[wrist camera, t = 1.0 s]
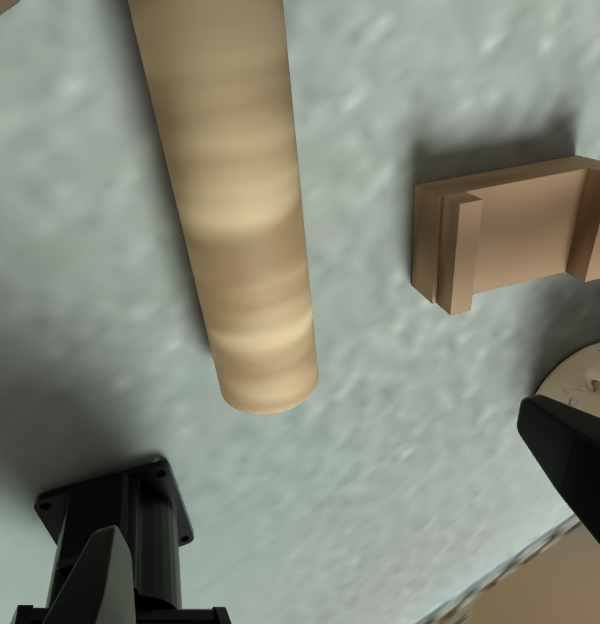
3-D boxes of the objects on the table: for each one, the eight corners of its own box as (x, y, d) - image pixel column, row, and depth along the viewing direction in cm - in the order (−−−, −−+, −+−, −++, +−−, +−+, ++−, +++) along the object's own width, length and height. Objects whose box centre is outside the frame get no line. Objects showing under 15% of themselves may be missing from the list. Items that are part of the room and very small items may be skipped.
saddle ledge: (556, 252, 24) (606, 277, 22) (411, 285, 23) (446, 316, 20) (576, 155, 22) (635, 169, 19) (414, 184, 20) (455, 205, 18)
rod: (306, 343, 23) (329, 401, 19) (218, 361, 22) (224, 424, 19) (262, -68, 15) (287, -108, 11) (121, -57, 14) (96, -94, 10)
